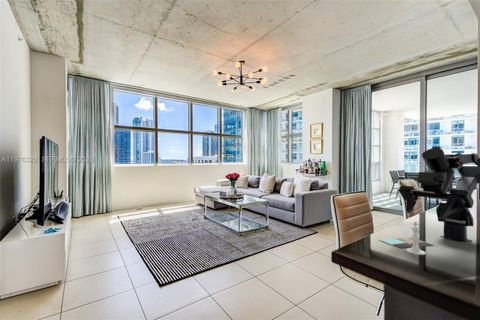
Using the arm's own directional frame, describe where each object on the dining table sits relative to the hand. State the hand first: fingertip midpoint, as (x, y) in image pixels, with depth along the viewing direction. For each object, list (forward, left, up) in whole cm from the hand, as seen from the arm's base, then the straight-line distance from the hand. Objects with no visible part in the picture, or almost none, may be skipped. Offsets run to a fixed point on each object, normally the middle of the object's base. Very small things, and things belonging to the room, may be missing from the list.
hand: (423, 214), depth 72 cm
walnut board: (+1, -6, -11) cm, 13 cm away
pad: (+4, -8, -11) cm, 14 cm away
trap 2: (-3, -3, -11) cm, 12 cm away
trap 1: (+4, -3, -11) cm, 12 cm away
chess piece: (+5, +1, -12) cm, 13 cm away
